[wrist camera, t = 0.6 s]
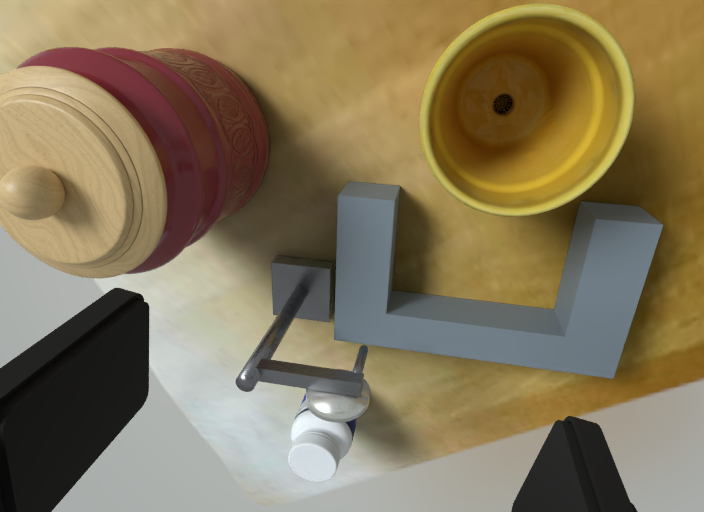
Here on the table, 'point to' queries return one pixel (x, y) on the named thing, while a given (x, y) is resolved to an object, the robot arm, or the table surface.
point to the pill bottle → (318, 444)
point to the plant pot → (527, 110)
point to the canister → (124, 155)
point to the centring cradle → (490, 317)
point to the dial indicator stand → (321, 383)
